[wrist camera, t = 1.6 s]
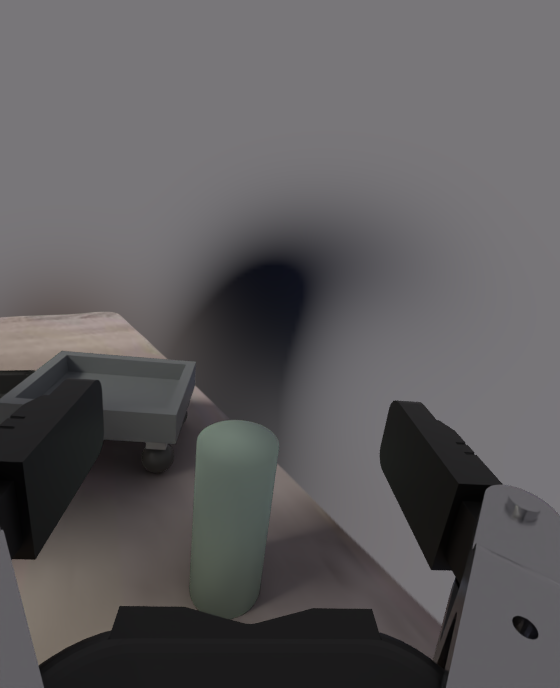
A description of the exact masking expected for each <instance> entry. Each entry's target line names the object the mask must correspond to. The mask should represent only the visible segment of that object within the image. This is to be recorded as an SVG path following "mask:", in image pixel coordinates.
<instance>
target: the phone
mask: <svg viewBox="0 0 560 688" xmlns="http://www.w3.org/2000/svg"><path fill="white" fill-rule="evenodd" d="M34 372H35V371H34V370H15V371H0V398H2V397H3V396H4V395H5V394H7V393H8V392H9V391H11V390H12V389H13V388H14V387H16V386H17V385H18V384H20V383H21V382H22V381H23V380H25V379H26V378H27V377H29V376H30V375H31V374H33V373H34Z"/></svg>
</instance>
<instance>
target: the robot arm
mask: <svg viewBox="0 0 560 688" xmlns="http://www.w3.org/2000/svg"><path fill="white" fill-rule="evenodd" d="M103 439H104V420H103V399H102V386H101V383H100V381H99V380H92V379H77V378H67V379H66V380H64V381H63V382H62V383H61V384H60V385H59V386H58V387H57V388H56V389H55V390H54V391H53V392H52V393H51V394H50V395H42V396H40V397H38V398H36V399H33V400H31V401H29V402H27V403H25V404H23V405H22V406H21V407H20V408H19V409H17V410H16V411H15V412H14V413H13V414H12V415H11V416H10V418H7V419H6V420H5V421H4V422H3V423H1V424H0V688H560V516H559V514H558V513H557V512H556V511H555V510H554V509H553V508H552V507H551V506H550V505H549V504H548V503H546V502H545V501H543V500H542V499H540V498H539V497H537V496H535V495H534V494H532V493H530V492H527V491H525V490H523V489H520V488H517V487H513V486H508V485H503V484H502V483H501V482H500V481H499V480H498V479H497V477H496V476H495V475H494V474H493V473H492V472H491V471H490V470H489V468H488V467H487V466H486V465H485V464H484V463H483V462H482V461H481V460H480V458H479V457H478V456H477V455H474V452H473V451H472V450H471V448H470V447H469V446H468V445H465V442H464V441H463V440H462V439H461V437H460V436H459V435H458V434H457V433H456V432H455V431H454V430H453V429H451V428H450V427H448V426H447V425H445V424H443V423H442V422H441V421H439V420H436V419H435V418H434V416H433V415H432V414H431V413H430V412H429V411H428V409H427V408H426V407H425V406H424V405H423V404H422V403H421V402H409V401H393V402H392V403H391V405H390V408H389V412H388V417H387V421H386V426H385V430H384V434H383V438H382V443H381V447H380V464H381V468H382V470H383V473H384V475H385V477H386V478H387V481H388V483H389V485H390V487H391V489H392V491H393V493H394V495H395V497H396V499H397V501H398V503H399V505H400V507H401V509H402V511H403V513H404V515H405V517H406V520H407V522H408V523H409V526H410V528H411V530H412V532H413V534H414V536H415V538H416V540H417V542H418V544H419V546H420V548H421V550H422V552H423V554H424V556H425V558H426V560H427V562H428V564H429V566H430V568H431V570H452V571H453V573H454V575H455V576H456V577H455V581H454V583H453V586H452V589H451V593H450V597H449V600H448V604H447V608H446V612H445V616H444V620H443V623H442V627H441V631H440V635H439V639H438V642H437V646H436V650H435V654H434V658H433V660H432V659H430V658H429V657H427V656H426V655H424V654H423V653H421V652H420V651H418V650H417V649H415V648H413V647H412V646H410V645H408V644H406V643H404V642H402V641H400V640H398V639H396V638H393V637H391V636H388V635H386V634H383V633H379V631H378V628H377V625H376V621H375V618H374V615H373V611H372V609H322V608H313V609H309V610H305V611H301V612H297V613H294V614H290V615H286V616H282V617H279V618H275V619H271V620H267V621H263V622H260V623H255V624H245V623H240V622H237V621H233V620H230V619H226V618H222V617H219V616H215V615H212V614H208V613H205V612H201V611H197V610H194V609H190V608H187V607H148V606H120V607H119V610H118V613H117V616H116V619H115V622H114V625H113V628H112V630H111V631H107V632H103V633H100V634H97V635H95V636H92V637H89V638H87V639H84V640H82V641H80V642H78V643H76V644H74V645H71V646H69V647H67V648H65V649H64V650H62V651H60V652H59V653H57V654H55V655H54V656H52V657H50V658H49V659H47V660H46V661H44V662H43V663H42V664H40V665H39V666H38V662H37V659H36V655H35V651H34V647H33V643H32V639H31V635H30V631H29V627H28V624H27V620H26V616H25V612H24V608H23V604H22V600H21V596H20V592H19V589H18V585H17V581H16V577H15V573H14V569H13V565H12V561H11V560H12V559H33V560H35V559H36V558H37V556H38V554H39V553H40V551H41V549H42V548H43V546H44V544H45V543H46V541H47V540H48V538H49V536H50V535H51V533H52V531H53V530H54V528H55V526H56V525H57V523H58V521H59V520H60V518H61V517H62V515H63V513H64V512H65V510H66V508H67V507H68V505H69V503H70V502H71V500H72V498H73V497H74V495H75V494H76V492H77V490H78V489H79V487H80V485H81V484H82V482H83V480H84V479H85V477H86V475H87V474H88V472H89V471H90V469H91V467H92V466H93V464H94V462H95V461H96V459H97V457H98V456H99V454H100V451H101V448H102V444H103Z"/></svg>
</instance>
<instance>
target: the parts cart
mask: <svg viewBox="0 0 560 688" xmlns="http://www.w3.org/2000/svg"><path fill="white" fill-rule="evenodd" d="M195 374H196V362H191V361H179V360H167V359H154V358H142V357H130V356H118V355H106V354H93V353H81V352H69V351H61V352H60V353H58V354H57V355H56V356H55V357H53V358H52V359H51V360H49V361H48V362H47V363H45V364H44V365H43V366H42V367H40V368H39V369H38V370H36V371H35V372H34V373H33V374H31V375H30V376H29V377H27V378H26V379H25V380H23V381H22V382H21V383H20V384H18V385H17V386H16V387H14V388H13V389H12V390H11V391H9V392H8V393H7V394H5V395H4V396H3V397H2V398H0V424H1V423H3V422H4V421H5V420H6V419H7V418H10V416H11V415H12V414H13V413H14V412H15V411H16V410H17V409H19V408H20V407H21V406H22V405H23V404H25V403H27V402H29V401H31V400H33V399H36V398H38V397H40V396H42V395H50V394H51V393H52V392H53V391H54V390H55V389H56V388H57V387H58V386H59V385H60V384H61V383H62V382H63V381H64V380H66V379H67V378H77V379H92V380H99V381H100V383H101V386H102V399H103V420H104V439H103V440H119V441H135V442H146V448H145V449H144V451H143V453H142V464H143V466H144V467H145V468H146V469H147V470H148V471H150V472H152V473H161V472H163V471H165V470H167V469H168V468H169V467H170V466H171V464H172V462H173V459H174V452H173V449H172V448H171V446H170V445H169V444H176V441H177V438H178V435H179V432H180V429H181V426H182V424H183V423H184V422H185V421H186V418H187V408H188V405H189V402H190V399H191V396H192V393H193V390H194V387H195Z"/></svg>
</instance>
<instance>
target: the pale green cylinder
mask: <svg viewBox="0 0 560 688" xmlns="http://www.w3.org/2000/svg"><path fill="white" fill-rule="evenodd" d="M278 451H279V442H278V439H277V437H276V436H275V435H274V433H273V432H271V431H270V430H269V429H267V428H266V427H264V426H262V425H260V424H257V423H254V422H250V421H243V420H227V421H221V422H217V423H214V424H212V425H210V426H208V427H206V428H205V429H204V430H202V431H201V433H200V434H199V436H198V438H197V446H196V466H195V486H194V506H193V526H192V546H191V566H190V587H189V589H190V596H191V599H192V601H193V603H194V605H195V606H196V608H197V609H198V610H199V611H201V612H205V613H208V614H212V615H215V616H219V617H222V618H226V619H233V618H236V617H238V616H241V615H242V614H244V613H246V612H247V611H248V610H249V609H250V608H251V607H252V606H253V605H254V603H255V602H256V600H257V598H258V595H259V592H260V585H261V578H262V570H263V563H264V555H265V548H266V540H267V533H268V526H269V518H270V511H271V503H272V496H273V488H274V481H275V473H276V466H277V458H278Z"/></svg>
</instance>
